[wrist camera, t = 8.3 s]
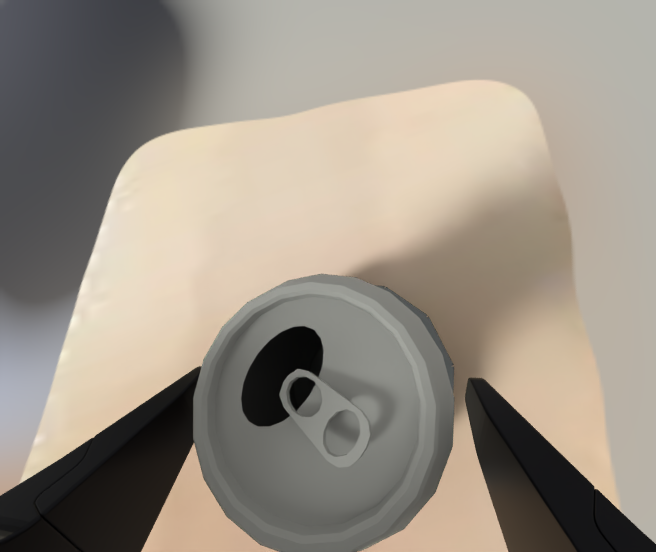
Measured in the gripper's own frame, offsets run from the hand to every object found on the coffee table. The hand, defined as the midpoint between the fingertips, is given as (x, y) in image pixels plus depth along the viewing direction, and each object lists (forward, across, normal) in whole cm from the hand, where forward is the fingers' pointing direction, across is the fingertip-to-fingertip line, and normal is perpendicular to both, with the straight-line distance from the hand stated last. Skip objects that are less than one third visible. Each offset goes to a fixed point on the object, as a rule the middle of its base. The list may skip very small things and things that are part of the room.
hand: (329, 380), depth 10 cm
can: (+6, 0, +7) cm, 9 cm away
